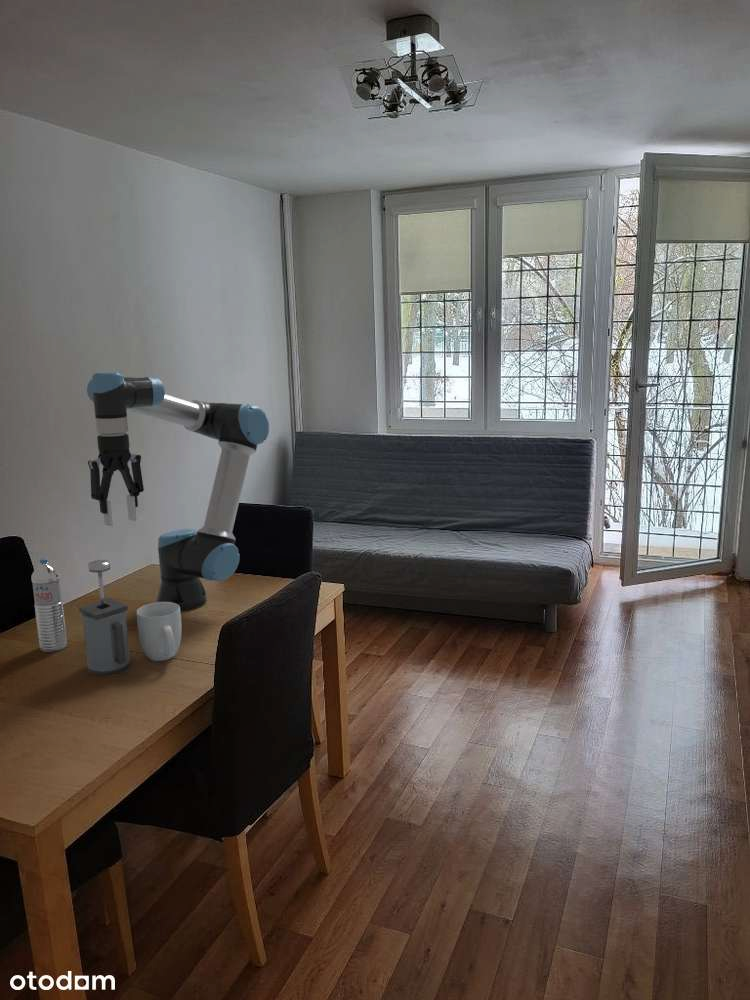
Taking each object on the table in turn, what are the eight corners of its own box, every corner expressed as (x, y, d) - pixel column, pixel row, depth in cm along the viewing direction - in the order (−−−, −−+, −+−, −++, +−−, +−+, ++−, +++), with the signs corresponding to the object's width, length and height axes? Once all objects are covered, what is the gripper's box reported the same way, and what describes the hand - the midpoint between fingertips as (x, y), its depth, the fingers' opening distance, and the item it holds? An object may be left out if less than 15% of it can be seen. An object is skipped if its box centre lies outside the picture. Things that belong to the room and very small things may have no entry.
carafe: (116, 654, 194) (111, 596, 190) (142, 667, 186) (136, 607, 182) (80, 667, 187) (74, 607, 183) (105, 681, 179) (99, 619, 175)
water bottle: (72, 644, 200) (63, 557, 195) (52, 654, 194) (42, 564, 188) (54, 640, 203) (44, 554, 197) (34, 650, 197) (23, 561, 191)
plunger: (109, 617, 189) (104, 557, 185) (122, 623, 185) (116, 562, 181) (87, 624, 184) (81, 563, 181) (99, 630, 180) (93, 568, 177)
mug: (194, 663, 188) (191, 615, 185) (152, 674, 182) (147, 625, 179) (175, 643, 200) (172, 598, 197) (134, 653, 194) (130, 607, 192)
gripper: (138, 428, 195) (145, 513, 200) (69, 436, 181) (78, 527, 186) (154, 431, 190) (160, 517, 195) (84, 439, 176) (93, 532, 181)
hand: (120, 522), depth 190 cm, fingers open, 6 cm apart
